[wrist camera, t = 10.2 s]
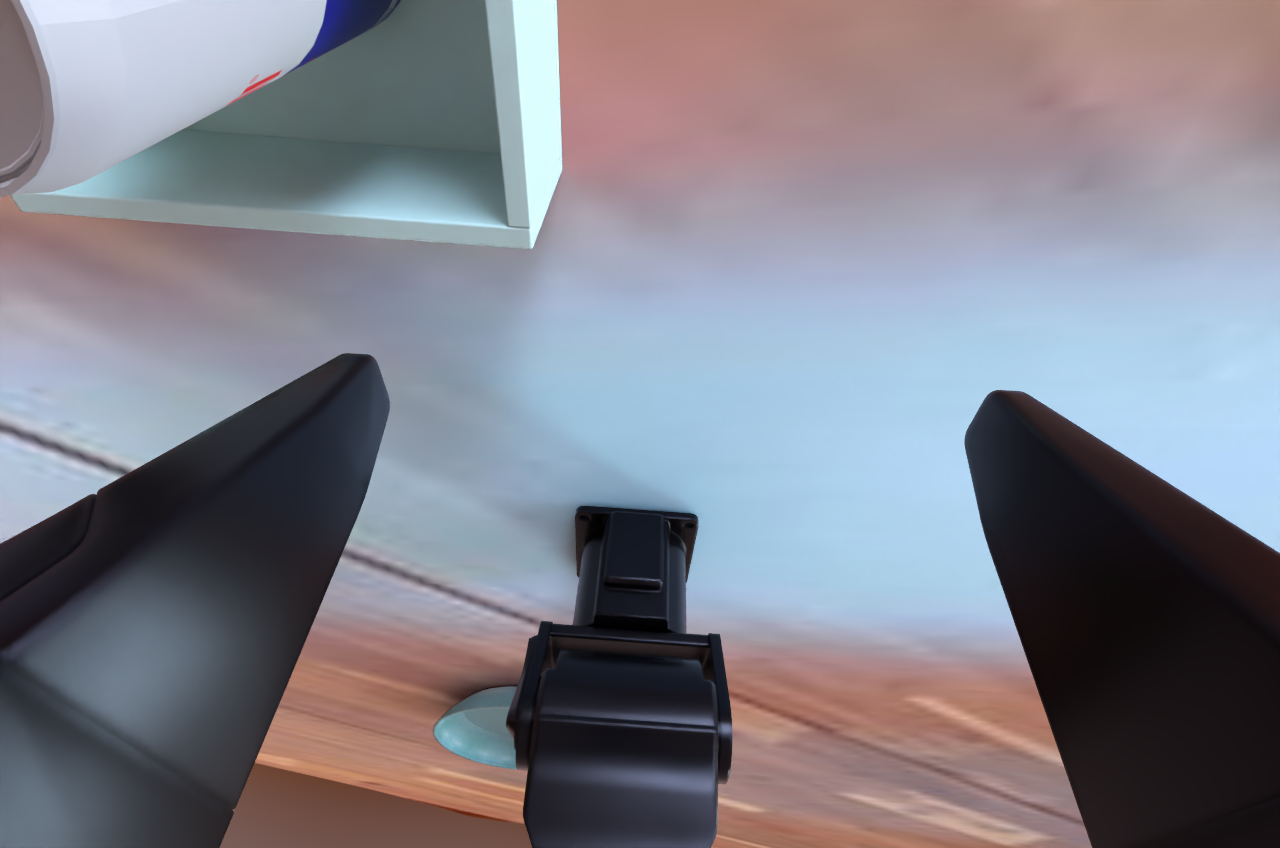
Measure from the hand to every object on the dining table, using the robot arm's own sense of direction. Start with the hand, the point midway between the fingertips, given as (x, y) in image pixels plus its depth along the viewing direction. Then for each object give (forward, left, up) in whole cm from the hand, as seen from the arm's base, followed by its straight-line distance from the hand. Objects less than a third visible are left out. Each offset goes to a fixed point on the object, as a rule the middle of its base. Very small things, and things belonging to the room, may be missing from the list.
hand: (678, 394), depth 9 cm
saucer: (-48, +8, -13) cm, 50 cm away
